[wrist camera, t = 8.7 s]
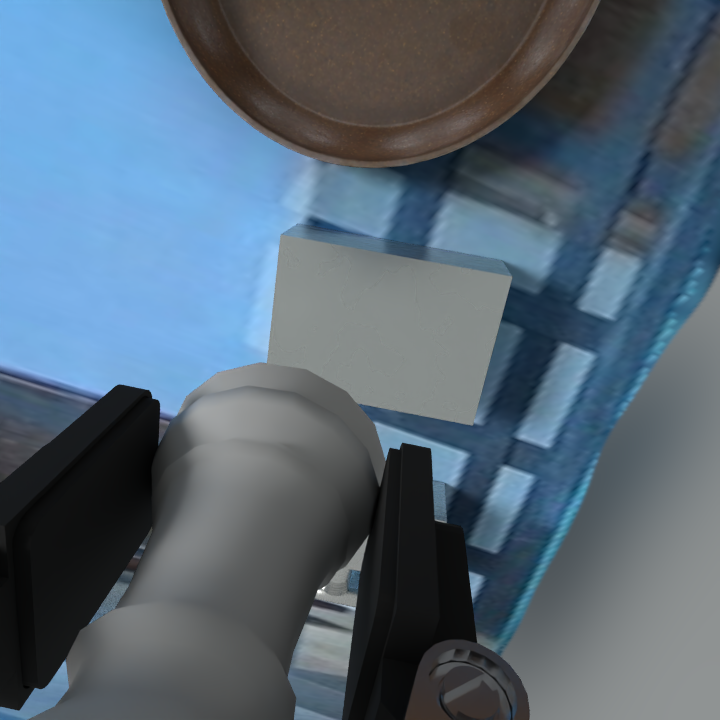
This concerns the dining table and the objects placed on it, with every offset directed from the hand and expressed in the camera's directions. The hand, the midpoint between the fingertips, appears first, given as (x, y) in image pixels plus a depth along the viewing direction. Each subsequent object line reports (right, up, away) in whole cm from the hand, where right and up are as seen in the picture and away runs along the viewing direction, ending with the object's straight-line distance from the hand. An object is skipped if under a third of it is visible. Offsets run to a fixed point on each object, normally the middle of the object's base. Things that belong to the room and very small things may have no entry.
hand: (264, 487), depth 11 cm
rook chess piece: (0, 0, +1) cm, 2 cm away
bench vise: (+2, -1, +20) cm, 20 cm away
